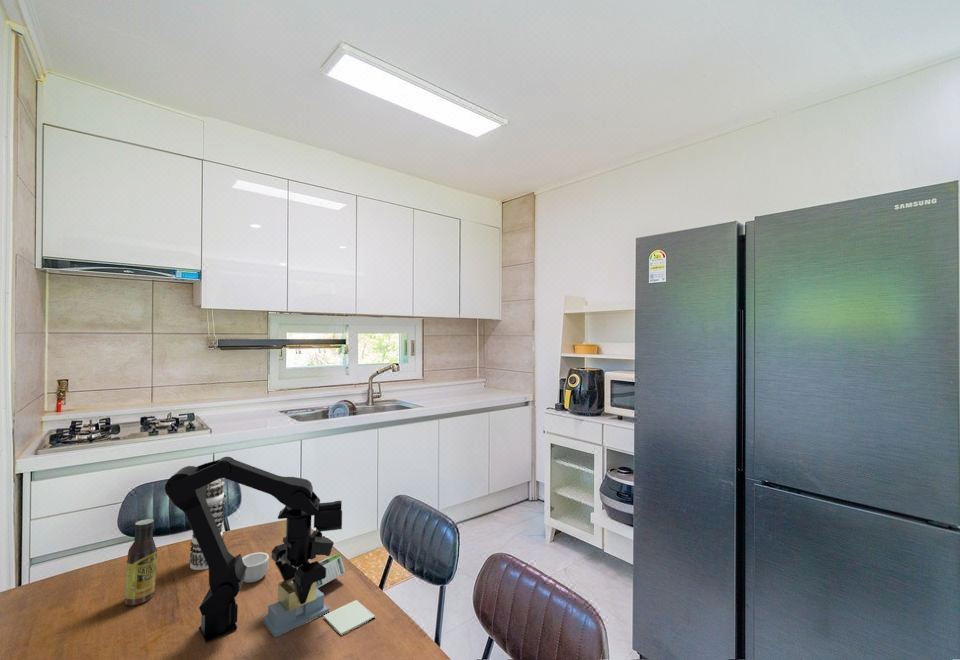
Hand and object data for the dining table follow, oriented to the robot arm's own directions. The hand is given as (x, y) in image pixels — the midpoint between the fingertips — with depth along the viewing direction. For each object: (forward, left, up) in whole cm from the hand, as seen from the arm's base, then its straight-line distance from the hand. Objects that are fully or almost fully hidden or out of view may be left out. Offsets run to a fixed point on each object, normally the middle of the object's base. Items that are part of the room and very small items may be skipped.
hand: (296, 597), depth 105 cm
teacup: (-1, +26, -5) cm, 27 cm away
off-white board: (+9, -9, -5) cm, 14 cm away
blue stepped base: (0, 0, -5) cm, 5 cm away
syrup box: (+16, +9, -1) cm, 18 cm away
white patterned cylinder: (-9, +44, -5) cm, 45 cm away
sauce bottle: (-26, +35, -5) cm, 44 cm away
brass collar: (0, 0, -1) cm, 1 cm away
